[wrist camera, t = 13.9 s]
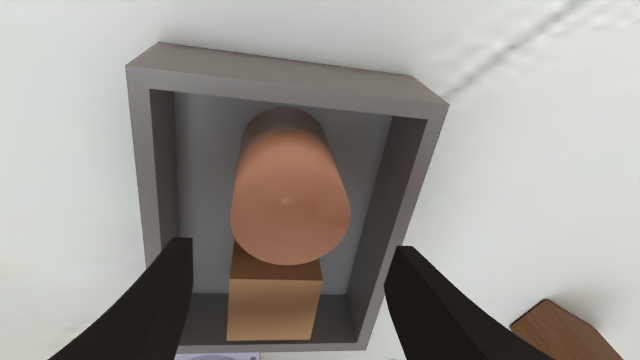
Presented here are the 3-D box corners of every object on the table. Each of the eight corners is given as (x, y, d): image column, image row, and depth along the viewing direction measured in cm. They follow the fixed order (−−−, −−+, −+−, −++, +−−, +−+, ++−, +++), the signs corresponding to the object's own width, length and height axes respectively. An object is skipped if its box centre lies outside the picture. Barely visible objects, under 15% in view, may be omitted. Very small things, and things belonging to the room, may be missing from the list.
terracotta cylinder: (322, 185, 23) (342, 264, 17) (240, 184, 22) (231, 266, 16) (331, 109, 20) (359, 169, 14) (240, 104, 19) (228, 165, 13)
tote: (350, 294, 29) (365, 350, 25) (173, 292, 27) (155, 354, 22) (411, 75, 21) (449, 104, 16) (158, 42, 18) (125, 65, 14)
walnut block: (302, 279, 27) (310, 339, 22) (233, 278, 26) (226, 340, 21) (312, 225, 24) (322, 280, 20) (236, 221, 23) (229, 279, 19)
